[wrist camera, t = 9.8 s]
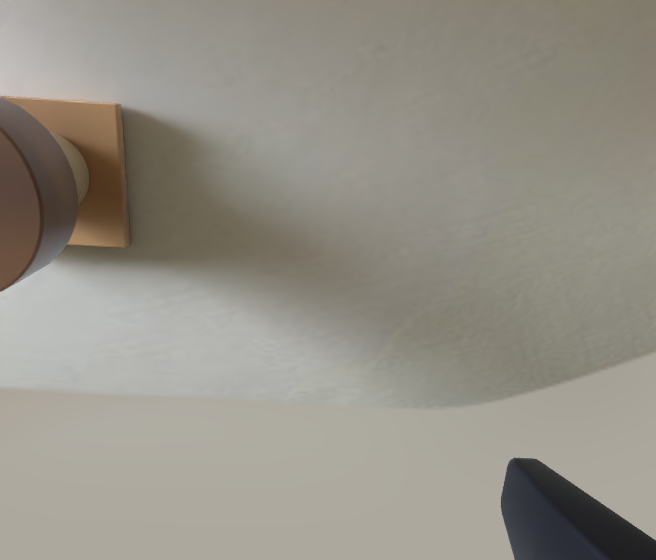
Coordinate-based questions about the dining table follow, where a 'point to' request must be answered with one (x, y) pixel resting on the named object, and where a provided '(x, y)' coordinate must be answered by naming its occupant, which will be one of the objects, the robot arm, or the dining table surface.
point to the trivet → (91, 164)
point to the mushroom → (35, 193)
